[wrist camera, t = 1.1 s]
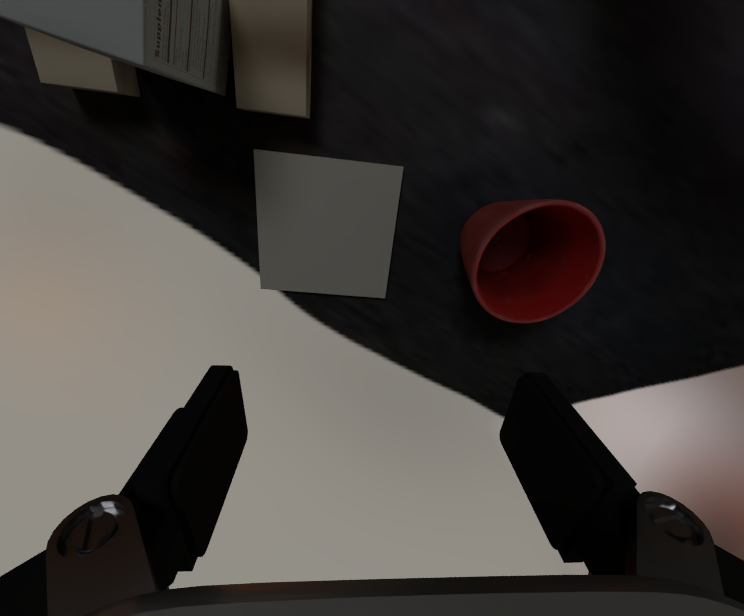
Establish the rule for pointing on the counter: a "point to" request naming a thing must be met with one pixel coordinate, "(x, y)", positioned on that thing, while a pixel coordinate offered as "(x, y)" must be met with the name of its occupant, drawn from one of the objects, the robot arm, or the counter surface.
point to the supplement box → (140, 33)
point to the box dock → (250, 57)
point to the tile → (325, 223)
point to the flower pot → (531, 257)
